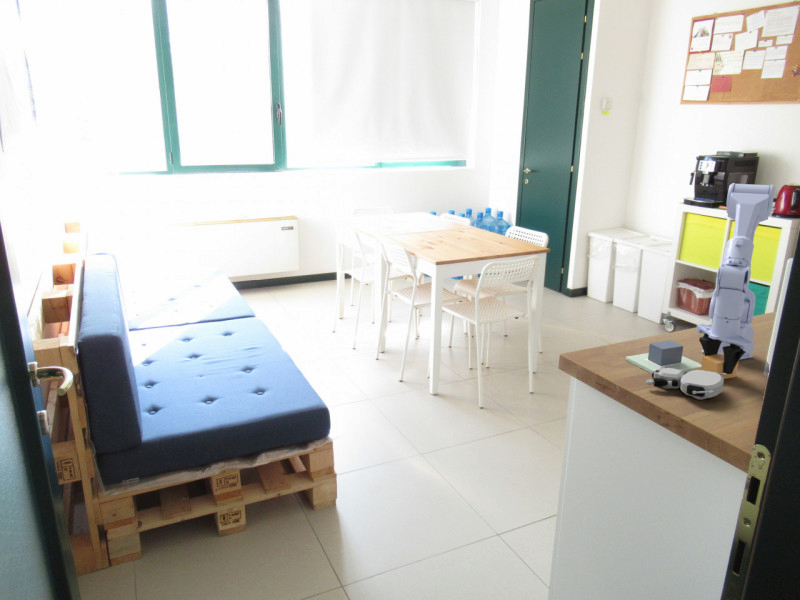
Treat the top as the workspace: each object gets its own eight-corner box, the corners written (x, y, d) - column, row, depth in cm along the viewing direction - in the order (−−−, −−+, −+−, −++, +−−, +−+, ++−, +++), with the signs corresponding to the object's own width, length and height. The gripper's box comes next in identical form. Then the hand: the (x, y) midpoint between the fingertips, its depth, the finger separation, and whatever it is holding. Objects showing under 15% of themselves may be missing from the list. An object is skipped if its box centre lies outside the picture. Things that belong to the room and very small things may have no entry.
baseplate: (668, 352, 158) (668, 349, 157) (704, 369, 147) (705, 365, 147) (625, 359, 153) (625, 356, 153) (659, 377, 142) (660, 374, 142)
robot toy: (642, 394, 136) (714, 409, 126) (643, 376, 135) (716, 389, 125) (659, 377, 145) (728, 389, 135) (660, 360, 144) (729, 371, 134)
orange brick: (720, 369, 146) (723, 353, 145) (735, 376, 142) (738, 359, 141) (700, 373, 144) (702, 356, 143) (714, 380, 140) (717, 363, 139)
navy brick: (668, 356, 153) (670, 340, 151) (681, 362, 149) (683, 346, 147) (647, 359, 151) (649, 343, 149) (660, 365, 147) (662, 349, 145)
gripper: (689, 309, 144) (682, 361, 148) (741, 327, 131) (731, 383, 135) (711, 305, 146) (704, 357, 150) (764, 323, 133) (754, 379, 137)
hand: (718, 369), depth 143 cm, fingers closed on orange brick, 4 cm apart
